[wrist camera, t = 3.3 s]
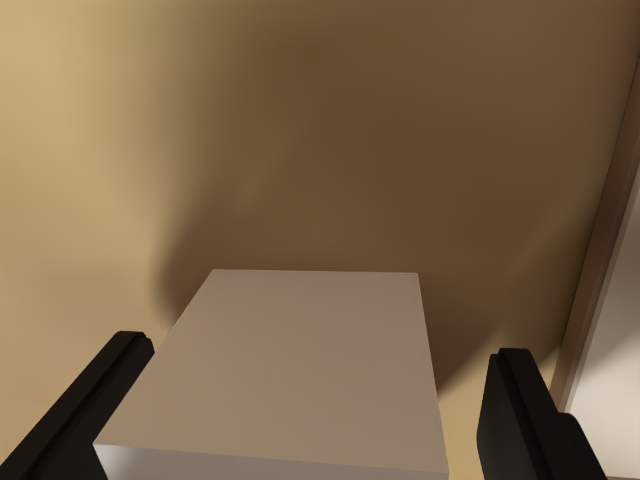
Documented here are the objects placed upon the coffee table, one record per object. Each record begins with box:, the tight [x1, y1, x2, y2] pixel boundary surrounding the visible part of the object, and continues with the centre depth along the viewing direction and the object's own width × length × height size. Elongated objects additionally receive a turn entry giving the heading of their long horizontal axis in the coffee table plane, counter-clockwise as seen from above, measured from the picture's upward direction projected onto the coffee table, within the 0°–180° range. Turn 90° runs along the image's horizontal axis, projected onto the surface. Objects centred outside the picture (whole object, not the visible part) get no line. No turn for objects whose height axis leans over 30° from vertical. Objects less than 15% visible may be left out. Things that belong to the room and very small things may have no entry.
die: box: [93, 269, 449, 480], centre depth 9 cm, size 5×5×5 cm
